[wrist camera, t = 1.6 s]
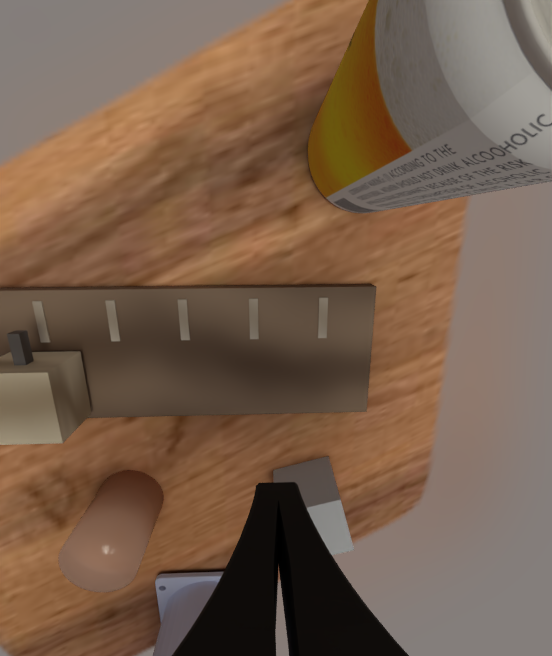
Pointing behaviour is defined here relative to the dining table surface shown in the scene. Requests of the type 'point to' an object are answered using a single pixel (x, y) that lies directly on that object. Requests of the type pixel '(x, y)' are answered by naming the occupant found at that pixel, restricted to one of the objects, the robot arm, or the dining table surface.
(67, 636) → the dining table surface
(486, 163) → the beer can
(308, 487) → the grey cube
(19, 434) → the birch slider
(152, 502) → the terracotta cylinder
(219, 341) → the board
